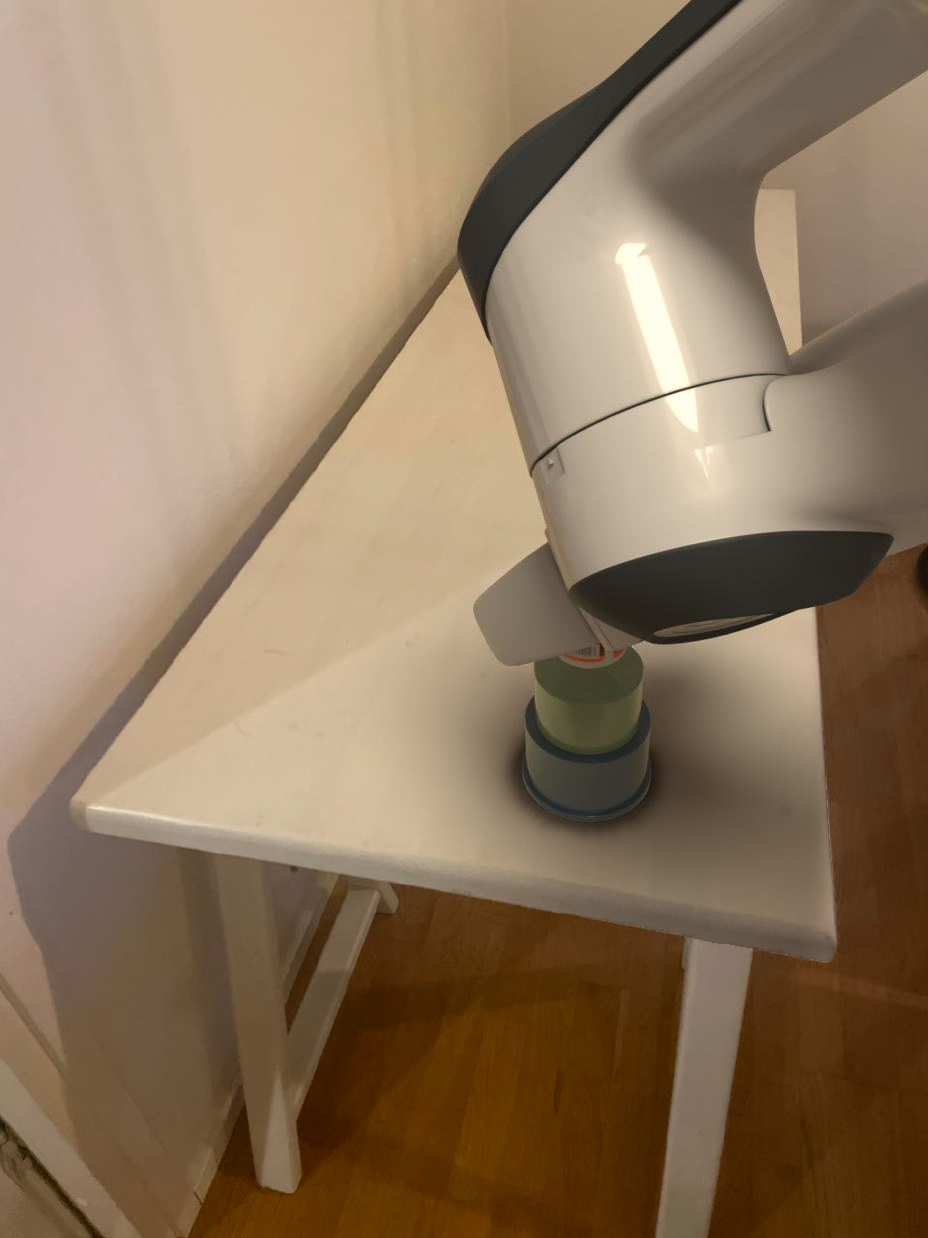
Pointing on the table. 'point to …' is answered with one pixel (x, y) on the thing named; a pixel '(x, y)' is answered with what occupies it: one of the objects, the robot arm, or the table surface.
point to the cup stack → (588, 739)
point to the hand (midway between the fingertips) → (582, 585)
